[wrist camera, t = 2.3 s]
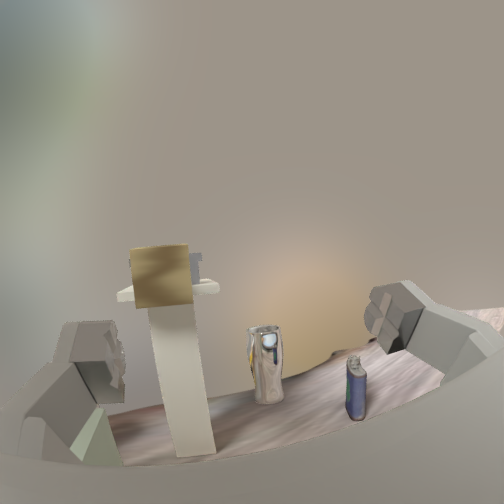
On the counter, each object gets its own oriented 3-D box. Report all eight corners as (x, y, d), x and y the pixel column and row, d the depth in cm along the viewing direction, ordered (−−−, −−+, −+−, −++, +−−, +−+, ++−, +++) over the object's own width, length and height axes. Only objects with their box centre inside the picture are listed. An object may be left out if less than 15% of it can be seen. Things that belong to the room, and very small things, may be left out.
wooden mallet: (136, 308, 24) (129, 249, 24) (148, 285, 37) (144, 245, 36) (193, 303, 25) (187, 244, 25) (187, 281, 38) (183, 242, 38)
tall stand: (157, 474, 32) (113, 259, 32) (158, 433, 43) (129, 260, 44) (241, 464, 35) (215, 250, 35) (227, 425, 46) (206, 253, 47)
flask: (366, 420, 42) (368, 363, 42) (349, 423, 42) (350, 366, 43) (358, 397, 51) (358, 346, 51) (343, 399, 51) (342, 348, 52)
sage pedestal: (48, 568, 9) (-31, 463, 10) (69, 501, 22) (25, 404, 22) (139, 584, 12) (71, 487, 12) (141, 506, 24) (104, 408, 25)
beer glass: (255, 408, 52) (247, 335, 53) (249, 393, 59) (242, 327, 60) (290, 402, 54) (285, 330, 54) (281, 388, 60) (276, 322, 61)
